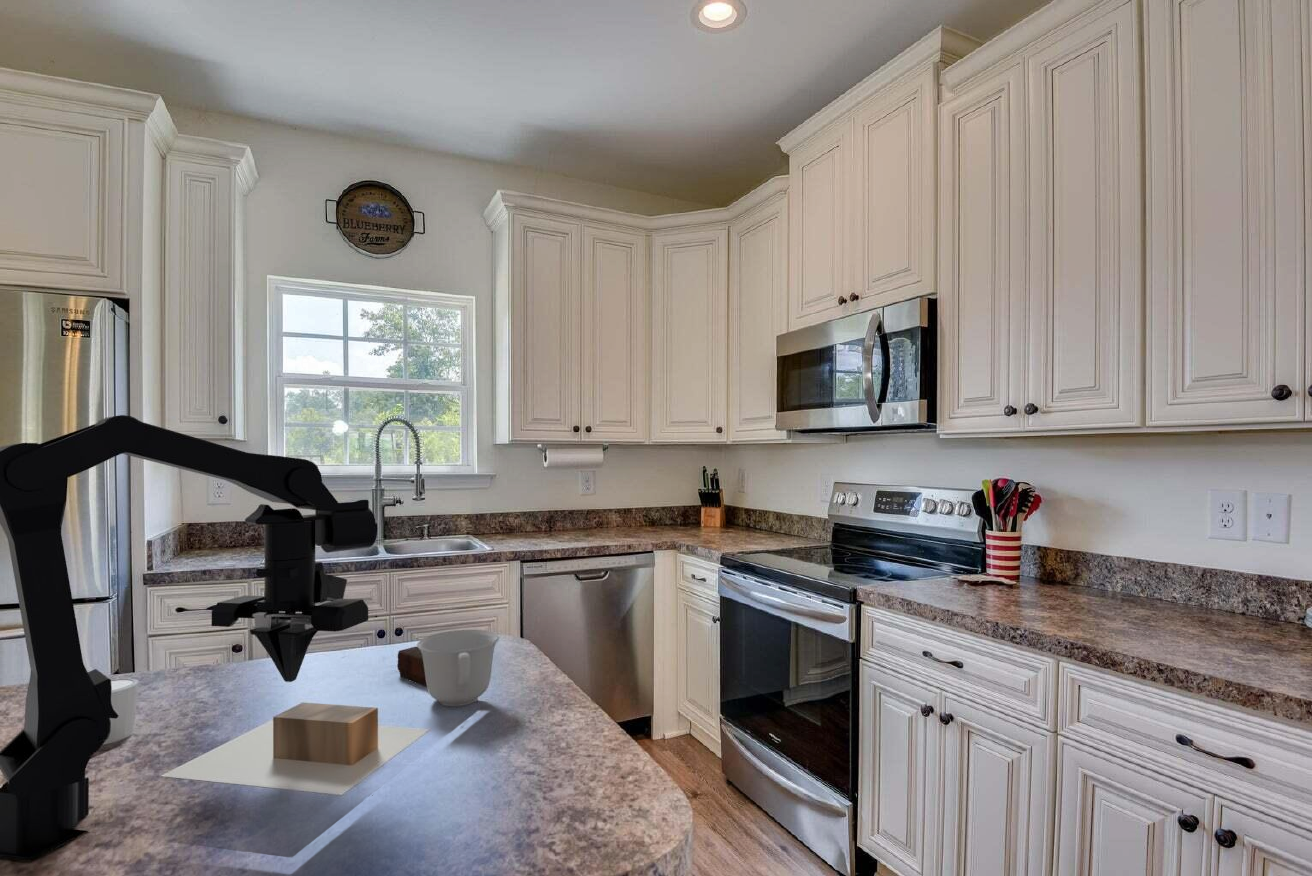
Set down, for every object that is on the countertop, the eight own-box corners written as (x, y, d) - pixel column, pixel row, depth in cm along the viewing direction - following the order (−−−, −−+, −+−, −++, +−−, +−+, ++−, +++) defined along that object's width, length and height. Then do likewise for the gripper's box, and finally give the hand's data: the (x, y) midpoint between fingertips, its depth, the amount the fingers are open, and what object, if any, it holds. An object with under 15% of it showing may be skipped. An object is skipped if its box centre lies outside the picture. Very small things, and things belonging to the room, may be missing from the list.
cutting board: (341, 804, 74) (341, 794, 74) (160, 784, 79) (160, 776, 79) (430, 736, 92) (430, 729, 92) (277, 724, 97) (277, 717, 97)
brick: (396, 677, 117) (396, 650, 117) (417, 671, 120) (417, 645, 120) (432, 690, 110) (432, 661, 111) (453, 684, 114) (452, 655, 114)
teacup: (420, 734, 92) (419, 660, 93) (415, 698, 106) (414, 634, 106) (509, 720, 97) (508, 649, 97) (493, 688, 111) (493, 626, 111)
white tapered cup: (102, 749, 89) (103, 695, 89) (60, 746, 90) (61, 692, 90) (151, 729, 96) (151, 678, 96) (111, 725, 97) (111, 676, 97)
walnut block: (273, 758, 83) (352, 765, 81) (273, 717, 84) (352, 723, 81) (302, 741, 88) (377, 747, 86) (302, 702, 88) (377, 707, 86)
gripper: (393, 549, 92) (393, 665, 92) (274, 547, 96) (274, 658, 96) (339, 562, 82) (339, 693, 81) (207, 559, 85) (207, 685, 85)
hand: (290, 680), depth 86 cm, fingers closed
